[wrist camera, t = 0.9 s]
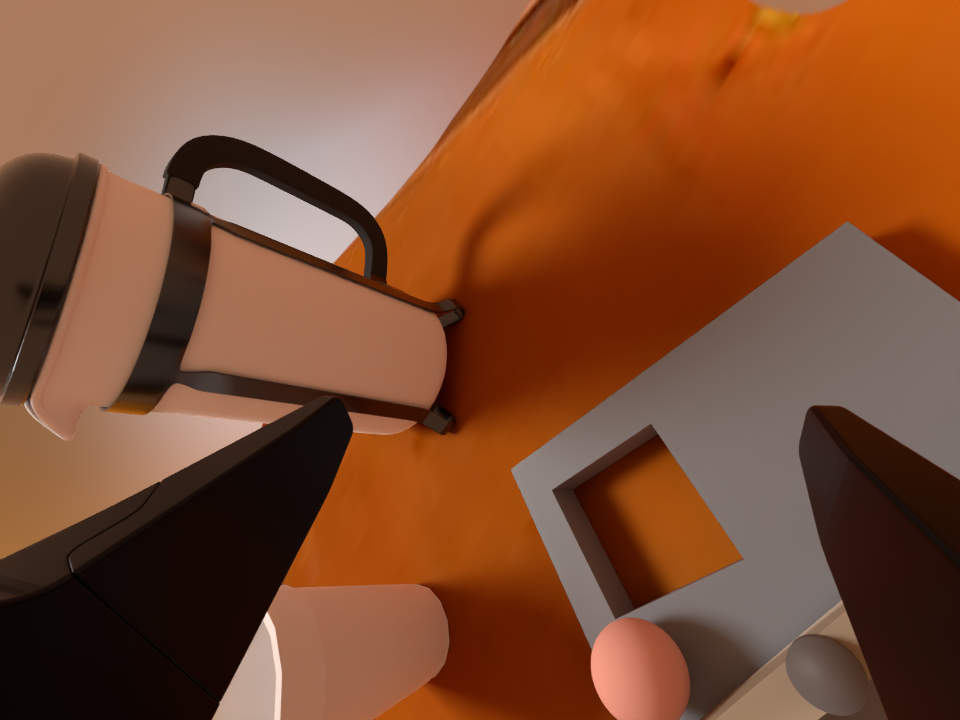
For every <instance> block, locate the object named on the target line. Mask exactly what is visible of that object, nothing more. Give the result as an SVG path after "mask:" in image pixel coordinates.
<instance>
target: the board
mask: <svg viewBox="0 0 960 720" xmlns="http://www.w3.org/2000/svg"><path fill="white" fill-rule="evenodd" d="M813 405H832V406H842V407H844V408H846V409H848V410H849V411H851V412H852V413H854V414H856V415H857V416H859V417H860V418H862V419H864V420H865V421H867V422H868V423H870V424H872V425H873V426H875V427H876V428H878V429H880V430H881V431H883V432H884V433H886V434H888V435H889V436H891V437H892V438H894V439H896V440H897V441H899V442H900V443H902V444H904V445H905V446H907V447H908V448H910V449H912V450H913V451H915V452H916V453H918V454H920V455H921V456H923V457H924V458H926V459H928V460H929V461H931V462H932V463H934V464H935V465H937V466H939V467H940V468H942V469H943V470H945V471H947V472H948V473H950V474H951V475H953V476H955V477H956V478H958V479H959V480H960V302H959V301H958V300H956V299H955V298H954V297H952V296H951V295H950V294H948V293H947V292H945V291H944V290H943V289H941V288H940V287H938V286H937V285H936V284H934V283H933V282H931V281H930V280H929V279H927V278H926V277H924V276H923V275H922V274H920V273H919V272H917V271H916V270H915V269H913V268H912V267H910V266H909V265H908V264H906V263H905V262H904V261H902V260H901V259H899V258H898V257H897V256H895V255H894V254H892V253H891V252H890V251H888V250H887V249H885V248H884V247H883V246H881V245H880V244H878V243H877V242H876V241H874V240H873V239H871V238H870V237H869V236H867V235H866V234H864V233H863V232H862V231H860V230H859V229H858V228H856V227H855V226H853V225H852V224H851V223H849V222H848V221H847V222H846V223H845V224H843V225H842V226H840V227H839V228H838V229H836V230H835V231H834V232H832V233H831V234H830V235H828V236H827V237H826V238H824V239H823V240H821V241H820V242H819V243H817V244H816V245H815V246H813V247H812V248H811V249H809V250H808V251H807V252H805V253H804V254H802V255H801V256H800V257H798V258H797V259H796V260H794V261H793V262H792V263H790V264H789V265H788V266H786V267H785V268H783V269H782V270H781V271H779V272H778V273H777V274H775V275H774V276H773V277H771V278H770V279H769V280H767V281H766V282H764V283H763V284H762V285H760V286H759V287H758V288H756V289H755V290H754V291H752V292H751V293H750V294H748V295H747V296H745V297H744V298H743V299H741V300H740V301H739V302H737V303H736V304H735V305H733V306H732V307H731V308H729V309H728V310H726V311H725V312H724V313H722V314H721V315H720V316H718V317H717V318H716V319H714V320H713V321H712V322H710V323H709V324H707V325H706V326H705V327H703V328H702V329H701V330H699V331H698V332H697V333H695V334H694V335H693V336H691V337H690V338H688V339H687V340H686V341H684V342H683V343H682V344H680V345H679V346H678V347H676V348H675V349H674V350H672V351H671V352H669V353H668V354H667V355H665V356H664V357H663V358H661V359H660V360H659V361H657V362H656V363H655V364H653V365H652V366H650V367H649V368H648V369H646V370H645V371H644V372H642V373H641V374H640V375H638V376H637V377H636V378H634V379H633V380H631V381H630V382H629V383H627V384H626V385H625V386H623V387H622V388H621V389H619V390H618V391H617V392H615V393H614V394H612V395H611V396H610V397H608V398H607V399H606V400H604V401H603V402H602V403H600V404H599V405H598V406H596V407H595V408H593V409H592V410H591V411H589V412H588V413H587V414H585V415H584V416H583V417H581V418H580V419H579V420H577V421H576V422H574V423H573V424H572V425H570V426H569V427H568V428H566V429H565V430H564V431H562V432H561V433H560V434H558V435H557V436H555V437H554V438H553V439H551V440H550V441H549V442H547V443H546V444H545V445H543V446H542V447H541V448H539V449H538V450H536V451H535V452H534V453H532V454H531V455H530V456H528V457H527V458H526V459H524V460H523V461H521V462H520V463H519V464H517V465H516V466H515V467H513V468H512V469H511V471H512V473H513V476H514V478H515V480H516V482H517V484H518V487H519V489H520V491H521V493H522V496H523V498H524V500H525V502H526V504H527V507H528V509H529V511H530V513H531V516H532V518H533V520H534V522H535V524H536V527H537V529H538V531H539V533H540V536H541V538H542V540H543V542H544V545H545V547H546V549H547V551H548V553H549V556H550V558H551V560H552V562H553V565H554V567H555V569H556V571H557V573H558V576H559V578H560V580H561V582H562V585H563V587H564V589H565V591H566V593H567V596H568V598H569V600H570V602H571V605H572V607H573V609H574V611H575V613H576V616H577V618H578V620H579V622H580V625H581V627H582V629H583V631H584V634H585V636H586V638H587V640H588V642H589V645H590V647H591V649H592V650H593V646H594V643H595V641H596V639H597V637H598V635H599V634H600V632H601V631H602V630H603V629H604V628H605V627H606V626H607V625H609V624H610V623H612V622H613V621H616V620H619V619H622V618H640V619H643V620H646V621H649V622H651V623H653V624H655V625H657V626H658V627H660V628H661V629H662V630H664V631H665V632H666V633H667V634H668V635H669V636H670V637H671V638H672V639H673V641H674V642H675V643H676V645H677V646H678V648H679V649H680V651H681V653H682V655H683V657H684V659H685V662H686V664H687V668H688V671H689V678H690V696H689V700H688V704H687V707H686V709H685V711H684V713H683V715H682V716H681V718H680V719H679V720H700V719H701V718H702V717H703V716H705V715H706V714H707V713H708V712H709V711H711V710H712V709H713V708H714V707H715V706H716V705H718V704H719V703H720V702H721V701H722V700H724V699H725V698H726V697H727V696H728V695H730V694H731V693H732V692H733V691H734V690H735V689H737V688H738V687H739V686H740V685H741V684H743V683H744V682H745V681H746V680H747V679H749V678H750V677H751V676H752V675H753V674H754V673H756V672H757V671H758V670H759V669H760V668H762V667H763V666H764V665H765V664H766V663H767V662H769V661H770V660H771V659H772V658H773V657H775V656H776V655H777V654H778V653H779V652H781V651H782V650H783V649H784V648H785V647H786V646H788V645H789V644H790V643H791V642H792V641H794V640H795V639H796V638H797V637H798V636H800V635H801V634H802V633H803V632H804V631H805V630H807V629H808V628H809V627H810V626H811V625H813V624H814V623H815V622H816V621H817V620H819V619H820V618H821V617H822V616H823V615H824V614H826V613H827V612H828V611H829V610H830V609H832V608H833V607H834V606H835V605H836V604H838V603H839V602H840V601H841V600H842V599H841V597H840V594H839V592H838V589H837V586H836V584H835V581H834V579H833V576H832V573H831V571H830V568H829V566H828V563H827V560H826V558H825V555H824V552H823V549H822V546H821V543H820V539H819V536H818V532H817V528H816V524H815V520H814V516H813V512H812V508H811V503H810V499H809V495H808V491H807V487H806V483H805V479H804V475H803V471H802V466H801V462H800V458H799V441H800V437H801V432H802V428H803V424H804V420H805V416H806V412H807V410H808V409H809V407H811V406H813ZM657 434H659V436H660V437H661V439H662V440H663V442H664V443H665V445H666V446H667V447H668V449H669V450H670V452H671V453H672V455H673V456H674V458H675V459H676V461H677V462H678V463H679V465H680V466H681V468H682V469H683V471H684V472H685V474H686V475H687V477H688V478H689V480H690V481H691V482H692V484H693V485H694V487H695V488H696V490H697V491H698V493H699V494H700V496H701V497H702V498H703V500H704V501H705V503H706V504H707V506H708V507H709V509H710V510H711V512H712V513H713V514H714V516H715V517H716V519H717V520H718V522H719V523H720V525H721V526H722V528H723V529H724V530H725V532H726V533H727V535H728V536H729V538H730V539H731V541H732V542H733V544H734V545H735V546H736V548H737V549H738V551H739V552H740V554H741V555H742V557H743V559H741V560H739V561H737V562H735V563H732V564H730V565H728V566H726V567H724V568H722V569H720V570H717V571H715V572H713V573H711V574H709V575H707V576H705V577H702V578H700V579H698V580H696V581H694V582H692V583H689V584H687V585H685V586H683V587H681V588H679V589H677V590H674V591H672V592H670V593H668V594H666V595H664V596H661V597H659V598H657V599H655V600H653V601H651V602H649V603H646V604H644V605H642V606H640V607H638V608H636V609H635V608H634V606H633V604H632V602H631V600H630V598H629V596H628V595H627V593H626V591H625V589H624V587H623V585H622V583H621V581H620V579H619V577H618V575H617V573H616V572H615V570H614V568H613V566H612V564H611V562H610V560H609V558H608V556H607V554H606V552H605V550H604V548H603V547H602V545H601V543H600V541H599V539H598V537H597V535H596V533H595V531H594V529H593V527H592V525H591V524H590V522H589V520H588V518H587V516H586V514H585V512H584V510H583V508H582V506H581V504H580V502H579V500H578V499H577V497H576V495H575V493H574V491H573V489H575V488H576V487H578V486H579V485H581V484H582V483H584V482H585V481H587V480H589V479H590V478H592V477H593V476H595V475H596V474H598V473H599V472H601V471H602V470H604V469H605V468H607V467H608V466H610V465H612V464H613V463H615V462H616V461H618V460H619V459H621V458H622V457H624V456H625V455H627V454H628V453H630V452H631V451H633V450H634V449H636V448H638V447H639V446H641V445H642V444H644V443H645V442H647V441H648V440H650V439H651V438H653V437H654V436H656V435H657ZM818 720H888V719H887V717H886V714H885V711H884V709H883V706H882V704H881V701H880V698H879V696H878V693H877V691H876V688H875V685H874V683H873V680H872V679H871V680H870V681H868V696H867V701H866V703H865V705H864V706H863V708H862V709H861V710H860V711H858V712H856V713H854V714H852V715H847V716H839V715H833V714H829V713H826V714H825V715H824V716H822V717H821V718H820V719H818Z"/></svg>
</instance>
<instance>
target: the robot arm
mask: <svg viewBox="0 0 960 720" xmlns="http://www.w3.org/2000/svg"><path fill="white" fill-rule="evenodd" d="M352 434H353V423H352V421H351V418H350V416H349V414H348V412H347V409H346V407H345V405H344V403H343V401H342V399H341V398H339V397H337V396H322V397H319V398H317V399H315V400H314V401H312V402H310V403H308V404H306V405H304V406H302V407H300V408H298V409H296V410H295V411H293V412H291V413H289V414H287V415H285V416H283V417H281V418H279V419H277V420H276V421H274V422H272V423H270V424H268V425H266V426H264V427H262V428H260V429H258V430H257V431H255V432H253V433H251V434H249V435H247V436H245V437H243V438H241V439H239V440H237V441H236V442H234V443H232V444H230V445H228V446H226V447H224V448H222V449H220V450H218V451H217V452H215V453H213V454H211V455H209V456H207V457H205V458H203V459H201V460H200V461H198V462H196V463H194V464H192V465H190V466H188V467H186V468H184V469H182V470H180V471H179V472H177V473H175V474H173V475H171V476H169V477H167V478H165V479H163V480H162V482H158V483H156V484H154V485H152V486H150V487H148V488H146V489H144V490H142V491H140V492H139V493H137V494H135V495H133V496H131V497H129V498H127V499H125V500H123V501H121V502H119V503H117V504H115V505H113V506H111V507H109V508H107V509H105V510H103V511H101V512H99V513H97V514H95V515H93V516H91V517H89V518H86V519H84V520H82V521H80V522H78V523H76V524H74V525H72V526H70V527H68V528H66V529H64V530H62V531H59V532H57V533H55V534H53V535H51V536H49V537H47V538H45V539H43V540H41V541H39V542H36V543H34V544H32V545H30V546H28V547H26V548H24V549H22V550H20V551H17V552H15V553H14V554H11V555H9V556H7V557H5V558H3V559H0V720H212V719H213V717H214V715H215V713H216V711H217V709H218V707H219V705H220V703H219V702H220V701H221V700H222V698H223V697H224V695H225V693H226V691H227V689H228V687H229V685H230V683H231V681H232V679H233V677H234V675H235V673H236V671H237V669H238V667H239V666H240V664H241V662H242V660H243V658H244V656H245V654H246V652H247V650H248V648H249V646H250V644H251V642H252V640H253V638H254V637H255V635H256V633H257V631H258V629H259V627H260V625H261V623H262V621H263V619H264V617H265V615H266V613H267V611H268V609H269V607H270V606H271V604H272V602H273V600H274V598H275V596H276V594H277V592H278V590H279V588H280V586H281V584H282V582H283V580H284V578H285V577H286V575H287V573H288V571H289V569H290V567H291V565H292V563H293V561H294V559H295V557H296V555H297V553H298V551H299V549H300V547H301V546H302V544H303V542H304V540H305V538H306V536H307V534H308V532H309V530H310V528H311V526H312V524H313V522H314V520H315V518H316V517H317V515H318V513H319V511H320V509H321V507H322V505H323V503H324V501H325V499H326V497H327V495H328V493H329V491H330V488H331V486H332V484H333V481H334V479H335V476H336V474H337V471H338V469H339V466H340V464H341V461H342V459H343V456H344V454H345V451H346V449H347V446H348V444H349V441H350V439H351V436H352ZM799 458H800V462H801V466H802V471H803V475H804V479H805V483H806V487H807V491H808V495H809V499H810V503H811V508H812V512H813V516H814V520H815V524H816V528H817V532H818V536H819V539H820V543H821V546H822V549H823V552H824V555H825V558H826V560H827V563H828V566H829V568H830V571H831V573H832V576H833V579H834V581H835V584H836V586H837V589H838V592H839V594H840V597H841V599H842V602H843V605H844V607H845V610H846V613H847V615H848V618H849V620H850V623H851V626H852V628H853V631H854V633H855V636H856V639H857V641H858V644H859V646H860V649H861V652H862V654H863V657H864V659H865V662H866V665H867V667H868V670H869V672H870V675H871V678H872V680H873V683H874V685H875V688H876V691H877V693H878V696H879V698H880V701H881V704H882V706H883V709H884V711H885V714H886V717H887V719H888V720H960V480H959V479H958V478H956V477H955V476H953V475H951V474H950V473H948V472H947V471H945V470H943V469H942V468H940V467H939V466H937V465H935V464H934V463H932V462H931V461H929V460H928V459H926V458H924V457H923V456H921V455H920V454H918V453H916V452H915V451H913V450H912V449H910V448H908V447H907V446H905V445H904V444H902V443H900V442H899V441H897V440H896V439H894V438H892V437H891V436H889V435H888V434H886V433H884V432H883V431H881V430H880V429H878V428H876V427H875V426H873V425H872V424H870V423H868V422H867V421H865V420H864V419H862V418H860V417H859V416H857V415H856V414H854V413H852V412H851V411H849V410H848V409H846V408H844V407H842V406H832V405H813V406H811V407H809V409H808V410H807V412H806V416H805V420H804V424H803V428H802V432H801V437H800V441H799Z"/></svg>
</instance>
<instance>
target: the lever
mask: <svg viewBox="0 0 960 720" xmlns="http://www.w3.org/2000/svg"><path fill="white" fill-rule="evenodd" d="M871 679H872V678H871V675H870V672H869V670H868V667H867V665H866V662H865V659H864V657H863V654H862V652H861V649H860V646H859V644H858V641H857V639H856V636H855V633H854V631H853V628H852V626H851V623H850V620H849V618H848V615H847V613H846V610H845V607H844V605H843V602H842V600H841V601H840V602H839V603H838V604H836V605H835V606H834V607H833V608H832V609H830V610H829V611H828V612H827V613H826V614H824V615H823V616H822V617H821V618H820V619H819V620H817V621H816V622H815V623H814V624H813V625H811V626H810V627H809V628H808V629H807V630H805V631H804V632H803V633H802V634H801V635H800V636H798V637H797V638H796V639H795V640H794V641H792V642H791V643H790V644H789V645H788V646H786V647H785V648H784V649H783V650H782V651H781V652H779V653H778V654H777V655H776V656H775V657H773V658H772V659H771V660H770V661H769V662H767V663H766V664H765V665H764V666H763V667H762V668H760V669H759V670H758V671H757V672H756V673H754V674H753V675H752V676H751V677H750V678H749V679H747V680H746V681H745V682H744V683H743V684H741V685H740V686H739V687H738V688H737V689H735V690H734V691H733V692H732V693H731V694H730V695H728V696H727V697H726V698H725V699H724V700H722V701H721V702H720V703H719V704H718V705H716V706H715V707H714V708H713V709H712V710H711V711H709V712H708V713H707V714H706V715H705V716H703V717H702V718H701V719H700V720H818V719H820V718H821V717H822V716H824V715H825V714H826V713H829V714H833V715H839V716H847V715H852V714H854V713H856V712H858V711H860V710H861V709H862V708H863V706H864V705H865V703H866V701H867V696H868V681H870V680H871Z"/></svg>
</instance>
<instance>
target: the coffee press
mask: <svg viewBox="0 0 960 720" xmlns="http://www.w3.org/2000/svg"><path fill="white" fill-rule="evenodd" d="M214 168H232V169H237V170H240V171H243V172H246V173H248V174H251V175H253V176H255V177H257V178H259V179H261V180H263V181H265V182H268V183H269V184H271V185H273V186H275V187H277V188H279V189H281V190H283V191H285V192H287V193H289V194H291V195H294V196H296V197H297V198H299V199H301V200H303V201H305V202H307V203H309V204H311V205H313V206H315V207H317V208H319V209H321V210H323V211H325V212H327V213H329V214H331V215H333V216H335V217H337V218H339V219H341V220H342V221H344V222H346V223H347V224H349V225H350V226H351V227H352V228H353V229H354V230H355V231H356V232H357V234H358V235H359V236H360V238H361V240H362V242H363V244H364V247H365V269H364V276H361V275H359V274H356V273H354V272H351V271H349V270H346V269H344V268H342V267H339V266H337V265H334V264H332V263H329V262H327V261H325V260H322V259H320V258H317V257H314V256H312V255H310V254H307V253H305V252H303V251H300V250H298V249H295V248H293V247H290V246H288V245H286V244H283V243H281V242H278V241H276V240H273V239H271V238H268V237H266V236H264V235H261V234H259V233H256V232H254V231H251V230H249V229H247V228H244V227H242V226H239V225H237V224H234V223H231V222H227V221H225V220H222V219H220V218H218V217H215V216H213V215H210V214H209V213H208V212H207V211H206V210H205V209H204V208H203V207H201V206H198V205H196V204H194V203H192V202H193V198H194V194H195V190H196V189H197V188H198V187H199V184H200V181H201V178H202V176H203V174H204V173H205V172H206V171H208V170H210V169H214ZM163 178H165V181H164V186H163V190H162V194H159V193H156V192H154V191H152V190H149V189H147V188H144V187H142V186H139V185H137V184H134V183H132V182H130V181H127V180H125V179H123V178H120V177H118V176H116V175H114V174H112V173H111V172H109V171H108V169H107V168H106V167H105V166H104V165H102V164H99V161H98V160H96V159H94V158H92V157H89V156H87V155H85V154H82V153H78V154H77V156H76V158H74V159H73V158H68V157H64V156H59V155H54V154H46V153H32V154H26V155H23V156H20V157H17V158H15V159H12V160H11V161H9V162H7V163H5V164H4V165H2V166H1V167H0V405H5V406H15V407H22V406H23V405H25V407H26V409H27V411H28V412H29V413H30V414H31V415H32V416H33V417H34V418H35V419H36V420H37V421H39V423H41V424H42V425H43V426H45V427H46V428H47V429H49V430H50V431H51V432H53V433H54V434H56V435H57V436H59V437H60V438H62V439H64V440H71V439H73V438H74V436H75V429H76V425H77V422H78V419H79V417H80V414H81V413H82V411H83V409H84V408H86V407H88V406H99V408H100V410H101V411H104V412H115V413H126V414H137V415H146V414H148V413H149V412H160V413H169V414H179V415H189V416H199V417H210V418H219V419H229V420H239V421H249V422H259V423H268V424H270V423H272V422H274V421H276V420H277V419H279V418H281V417H283V416H285V415H287V414H289V413H291V412H293V411H295V410H296V409H298V408H300V407H302V406H304V405H306V404H308V403H310V402H312V401H314V400H315V399H317V398H319V397H322V396H337V397H339V398H341V399H342V401H343V403H344V405H345V407H346V409H347V412H348V414H349V416H350V418H351V421H352V423H353V432H359V433H370V434H382V435H391V434H397V433H400V432H403V431H405V430H407V429H409V428H410V427H412V426H413V425H415V424H416V423H417V422H419V423H421V424H424V425H426V426H427V427H429V428H431V429H432V430H434V431H436V432H437V433H439V434H441V435H446V434H447V433H448V431H449V430H450V429H451V428H452V426H453V425H454V424H455V423H456V419H455V417H454V416H453V415H452V414H451V413H450V412H449V411H447V410H446V409H445V408H443V407H442V406H441V405H440V404H438V403H437V401H436V400H435V399H436V397H437V395H438V393H439V391H440V388H441V385H442V382H443V379H444V375H445V370H446V362H447V345H446V338H445V334H444V330H443V329H444V328H445V327H447V326H449V325H451V324H454V323H456V322H458V321H460V320H461V319H462V318H463V317H464V314H465V311H464V309H463V308H462V307H461V306H460V304H459V303H458V302H457V301H456V300H455V299H449V300H445V301H441V302H436V303H430V302H426V301H423V300H420V299H418V298H415V297H413V296H410V295H408V294H407V293H405V292H403V291H402V290H399V289H397V288H395V287H392V286H390V285H387V282H386V275H387V247H386V241H385V238H384V235H383V233H382V230H381V228H380V227H379V225H378V223H377V222H376V220H375V219H374V217H373V216H372V215H371V214H370V213H369V212H368V211H367V210H366V209H365V208H364V207H363V206H362V205H360V204H359V203H358V202H356V201H355V200H353V199H352V198H350V197H349V196H347V195H345V194H344V193H342V192H341V191H339V190H337V189H335V188H334V187H332V186H330V185H328V184H327V183H325V182H323V181H321V180H319V179H317V178H316V177H314V176H312V175H310V174H308V173H307V172H305V171H303V170H301V169H299V168H298V167H296V166H294V165H292V164H290V163H288V162H286V161H285V160H283V159H281V158H279V157H277V156H275V155H273V154H271V153H269V152H267V151H265V150H263V149H261V148H259V147H257V146H255V145H253V144H250V143H247V142H245V141H242V140H238V139H235V138H231V137H226V136H217V135H209V136H201V137H197V138H194V139H192V140H190V141H188V142H186V143H185V144H184V145H183V146H182V147H180V149H179V150H178V151H177V152H176V153H175V155H174V156H173V157H172V159H171V160H170V162H169V163H168V165H167V167H166V169H165V171H164V174H163ZM451 310H453V311H452V312H450V313H448V314H445V315H443V316H441V317H439V318H438V317H437V315H436V314H435V313H443V312H448V311H451ZM434 312H435V313H434Z"/></svg>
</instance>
